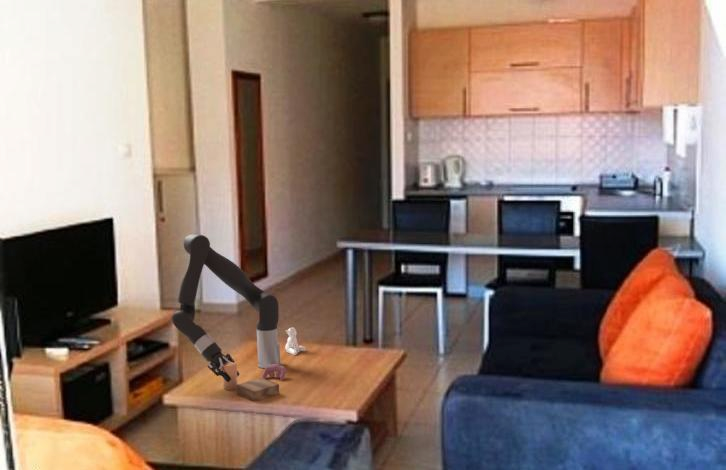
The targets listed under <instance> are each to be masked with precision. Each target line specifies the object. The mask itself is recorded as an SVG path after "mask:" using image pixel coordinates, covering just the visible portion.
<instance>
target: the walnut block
mask: <svg viewBox="0 0 726 470" xmlns="http://www.w3.org/2000/svg"><path fill="white" fill-rule="evenodd" d="M236 390H237V391H236V392H237V395H238V396H241V397H243V398H245V399H247V400H250V401H253V402H258V401H261V400H263V399H267V398H271V397H274V396H276V395H277V396H278V395H280V384H279V383H277V382H275V381H271V380H270V379H269V380H268V379H267V378H265V379H264V378H262V377H259V378H255V379H252V380H249V381H245V382H242V383H239V384H238V385H237V389H236Z"/></svg>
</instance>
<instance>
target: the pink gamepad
mask: <svg viewBox="0 0 726 470" xmlns="http://www.w3.org/2000/svg"><path fill="white" fill-rule="evenodd" d="M275 372H276V374H275ZM286 374H287V368H286V367H285V366H283V365H281V364H280V365H278V364H272V365H268V366H267V367H266V368H264V370H263V373H262V377H261V378H264V379H267V377H268V376H269V378H274V377H275V378H278V379H279V380H280V381H281V382H282V381H283V380H284V379H285V376H286Z"/></svg>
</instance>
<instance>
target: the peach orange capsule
mask: <svg viewBox="0 0 726 470" xmlns="http://www.w3.org/2000/svg"><path fill="white" fill-rule="evenodd" d="M234 362H235V361H234ZM234 362H229V363H225V364H223V365H224V366H223V368H224V370H225V372H226V373H227V374H228V375H229V376H230V377H231V380H230V381H229V382H227V381H226V380H225V379H224V378H223V377H222V383H223V384H222V387H223V390H225V391H235V390H237V385H238V377H237V371H238V366H237V365H238V364H237V362H235V363H234Z"/></svg>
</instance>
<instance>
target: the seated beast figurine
mask: <svg viewBox="0 0 726 470" xmlns="http://www.w3.org/2000/svg"><path fill="white" fill-rule="evenodd" d="M285 333H286V334H287V335H288V338H287V340H286V341H287V342H286V344H285V346H284V348H285V351H286V352H287V353H288V354H290V355H292V356H296V355H298V353H300V352H306V347H305V346H303V345H299V344H298V339H297V330H296V328H295V327H290V328H288V329H285Z"/></svg>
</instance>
